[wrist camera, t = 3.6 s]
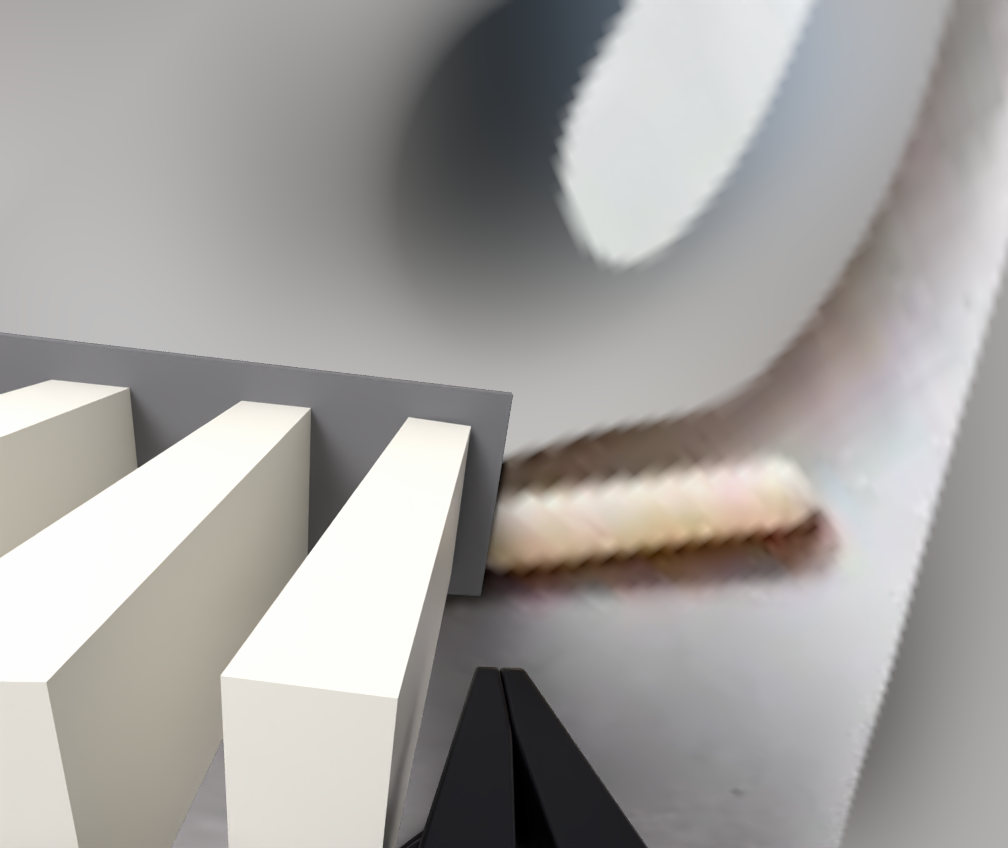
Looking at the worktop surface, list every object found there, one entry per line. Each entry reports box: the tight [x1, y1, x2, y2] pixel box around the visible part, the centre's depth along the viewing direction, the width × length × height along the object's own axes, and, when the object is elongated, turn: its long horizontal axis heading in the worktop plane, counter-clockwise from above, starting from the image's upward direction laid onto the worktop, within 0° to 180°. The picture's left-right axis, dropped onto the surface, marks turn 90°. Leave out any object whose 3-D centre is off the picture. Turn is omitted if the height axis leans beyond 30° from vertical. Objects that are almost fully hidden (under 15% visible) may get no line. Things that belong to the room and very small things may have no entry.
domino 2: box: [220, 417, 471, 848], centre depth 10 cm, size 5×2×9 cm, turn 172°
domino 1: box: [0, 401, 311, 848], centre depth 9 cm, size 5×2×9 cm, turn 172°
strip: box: [0, 333, 513, 596], centre depth 13 cm, size 22×7×1 cm, turn 82°
